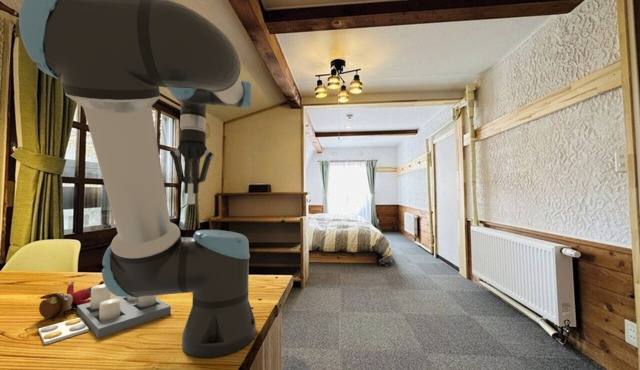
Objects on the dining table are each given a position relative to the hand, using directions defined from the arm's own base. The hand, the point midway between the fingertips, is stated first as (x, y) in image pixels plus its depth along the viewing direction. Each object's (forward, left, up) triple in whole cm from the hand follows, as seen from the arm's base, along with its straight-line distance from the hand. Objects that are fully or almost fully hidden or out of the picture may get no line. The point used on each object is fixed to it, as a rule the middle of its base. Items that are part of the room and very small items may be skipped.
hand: (191, 203), depth 83 cm
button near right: (-3, +13, -27) cm, 29 cm away
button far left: (+5, +21, -27) cm, 34 cm away
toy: (+15, +23, -29) cm, 40 cm away
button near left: (-3, +21, -29) cm, 35 cm away
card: (+1, +28, -29) cm, 40 cm away
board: (+1, +17, -29) cm, 33 cm away
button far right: (+5, +13, -29) cm, 32 cm away
